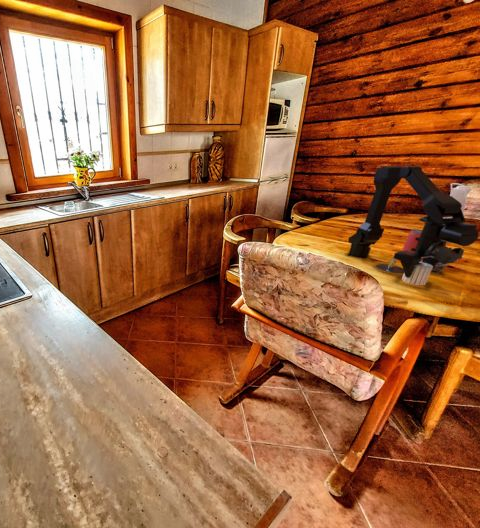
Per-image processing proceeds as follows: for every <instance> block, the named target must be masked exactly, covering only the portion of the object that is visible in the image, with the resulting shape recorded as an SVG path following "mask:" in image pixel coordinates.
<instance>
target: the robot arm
mask: <svg viewBox="0 0 480 528" xmlns="http://www.w3.org/2000/svg"><path fill="white" fill-rule="evenodd" d="M402 179H404V180H405V181H406V182H407V183H408V185H409V186H410V187H411V188H412V190H413V191H414V192H415V193H416V194H417V195H418V197H419V198H420V199H421V200H422V209H423V211H424V213H425V216H423V217H421V218H419V222H424V225H423V228H422V229H421V230H422V232H421V235H420V237H416V239H415V240H417V241H418V242H417V245H416V248H412V249H411V251H414V252H415V253H412V252H409V251H402V250H401V251H397V252H395V253H394V255H393V258H392V259H396V260H397V261H399V262H400V264H401V265H402V267H401V268H403V270H404V273H405V277H407V278H409V277H410V276H411V274H412V273H413V271H414V269H415V267H416V266H418V265H421V264H422V263H419V262H424V263H428V264H430V265H432V266H433V268H434V267H435V266H436V265H437V264H438V263H442V264H446V265H448V264H454V263H455V262H457V260H461V259H463V256H464V252H465V249H463V248H461V247H454V248H452V247H448V246H447V243H451V244H455V245H457V246H462V247H468V246H470V245H473V244H475V242H476V241H477V240H478V239H479V236H480V235H479V230H478V229H477V227H478V226H477V224H473V223H466V218H465V215H464V212H462V210H461V207H462V205H461V203H460V202H459V201H457V200H456V199H455V198H453V197H452V196H450V194H447V193H444V192H442V191H441V190H440V189H439V188H438V186H437V185H436V184H435V183H434V182H433V180H431V178H430V177H428V176H427V174H426V173H425V172H424V171H423V168H422V167H421V166H419V165H409V166H407V165H406V166H404V167H403V166H401V165H387V166H380V167H379V168H378V169H376V171H375V173H374V177H373V185H374V187H375V190H374V193H373V196H372V198H371V199H372V200H371V202H370V204H369V208H368V211H367V214H366V217H365V220H364V222H363V223H362V224H361V225H359V226H358V228H357V230H356V232H355V233H354V234H353V235H351V236H350V237H348V243H349V244H350V249H349V251H348V253H347V256H348V257H354V258H358V259H363V260H365V259H366V258H368V257H369V256H370V253H371V250H372V247H371V246H372V245H375V244H376V243H377V242H378V241H380V239H381V238H383V233H384V231H385V228H384V227H382V226H381V221H382V218H383V215H384V213H385V210H386V207H387V204H388V202H389V200H390V199H389V198H390V196H391V193H392V190H394V188H395V187H397V186H398V184H399V183H400V182H401V181H402ZM444 217H453V218H444ZM446 241H448V242H446ZM433 268H432V269H433ZM404 273H403V274H404Z"/></svg>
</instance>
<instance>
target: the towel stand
mask: <svg viewBox="0 0 480 528" xmlns="http://www.w3.org/2000/svg"><path fill="white" fill-rule="evenodd" d="M397 261H398V260H397V259H394V258H390V259H389V261H388V263H387V264H386V263H378V264H376V268H377V269H379V271H383V272H387V273H390V274H391V273H392V274H404V270H403V267H400V266H399V265H398V266H397V265H396V264H397Z"/></svg>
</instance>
